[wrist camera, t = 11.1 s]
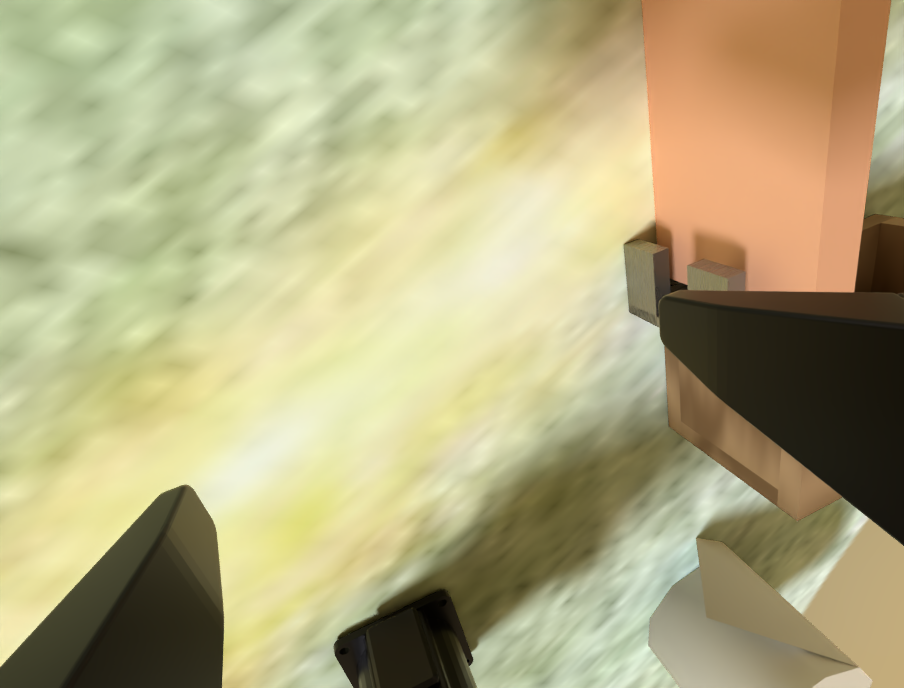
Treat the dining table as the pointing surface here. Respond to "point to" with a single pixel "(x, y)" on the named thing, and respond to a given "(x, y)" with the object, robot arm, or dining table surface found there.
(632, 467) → the dining table surface
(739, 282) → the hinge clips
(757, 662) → the toilet tissue
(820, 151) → the cabinet door
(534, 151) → the dining table surface
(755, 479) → the cabinet
